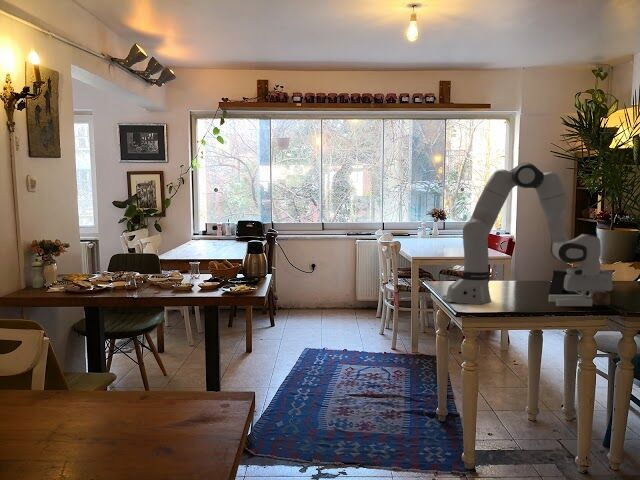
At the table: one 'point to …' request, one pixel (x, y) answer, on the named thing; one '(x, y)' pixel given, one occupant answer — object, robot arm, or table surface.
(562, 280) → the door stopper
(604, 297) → the walnut block
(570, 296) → the chute
